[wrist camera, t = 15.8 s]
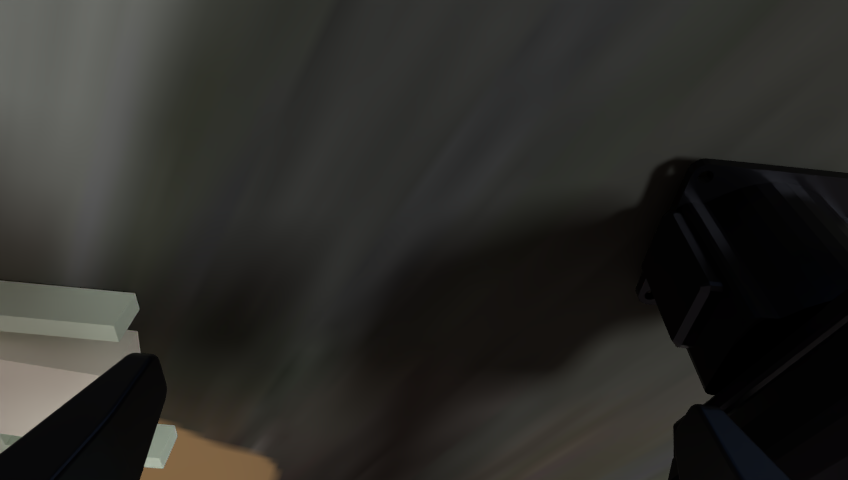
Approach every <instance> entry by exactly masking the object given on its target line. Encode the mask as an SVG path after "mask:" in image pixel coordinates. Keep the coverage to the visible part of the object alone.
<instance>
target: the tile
mask: <svg viewBox="0 0 848 480" xmlns="http://www.w3.org/2000/svg"><path fill="white" fill-rule="evenodd" d="M131 353H141V352H140V345H139V337H138V331H132V330H127V331H126V332H125V334H124V335H123V337H122V339H121V340H120V342H113V341H102V340H91V339H80V338H69V337H59V336H48V335H37V334H26V333H15V332H4V331H0V433H1V434H7V435H14V436H21V437H22V436H24V435H25V434H26V433H27V432H29V431H30V430H31V429H33V428H34V427H35V426H36V425H38V424H39V423H40V422H42V421H43V420H44V419H45V418H47V417H48V416H49V415H51V414H52V413H53V412H54V411H56V410H57V409H58V408H60V407H61V406H62V405H63V404H65V403H66V402H67V401H69V400H70V399H71V398H72V397H74V396H75V395H76V394H78V393H79V392H80V391H81V390H83V389H84V388H85V387H87V386H88V385H89V384H90V383H92V382H93V381H94V380H96V379H97V378H98V377H99V376H101V375H102V374H103V373H105V372H106V371H107V370H108V369H110V368H111V367H112V366H114V365H115V364H116V363H117V362H119V361H120V360H121V359H123V358H124V357H125V356H127V355H129V354H131Z"/></svg>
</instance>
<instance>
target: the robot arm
mask: <svg viewBox="0 0 848 480" xmlns="http://www.w3.org/2000/svg"><path fill="white" fill-rule="evenodd" d="M704 171H709V173H708V174H707V175H706V176H704V177H700V178H698V176H699V175H700V174H701V173H702V172H704ZM642 270H643V273H642V275H641V277H640V280H639V282H638V284H637V287H636V293H637V296H638V298H639V301H641V302H642V303H645V304H651V305H657V306H658V309H659V311H660V313H661V316H662V318H663V321H664V323H665V326H666V328H667V330H668V333H669V335H670V338H671V340H672V341H673V343H674V344H675V345H676V346H677V347H682V348H686V349H687V351H688V353H689V356H690V358H691V360H692V362H693V365H694V367H695V369H696V372H697V374H698V376H699V379H700V381H701V383H702V386H703V388H704V390H705V392H706V393H707V394H710V395H715V396H713V397H712V398H711V399H710V400H708V401H707V402H706V403H705V404H703V405H701V404H695V405H693V406H691V407H690V408H689V410H688V412H687V413H686V415H685V416H683V417H682V418H681V419H680V420H678V421H677V422H676V423H675V424H674V426H673V428H674V458H673V460H672V464H671V469H670V473H669V478H668V480H848V173H842V172H832V171H823V170H813V169H803V168H794V167H784V166H774V165H765V164H755V163H745V162H736V161H726V160H716V159H700V160H698V161H695V162H694V163H693V164H691V165H690V167H689V168H688V170H687V172H686V174H685V176H684V179H683V181H682V183H681V186H680V188H679V190H678V193H677V195H676V197H675V199H674V202H673V204H672V206H671V209H670V211H669V212H667V213H666V214H665V215H664V216H663V217H662V219H661V222H660V224H659V226H658V229H657V231H656V233H655V236H654V238H653V240H652V243H651V245H650V247H649V250H648V252H647V254H646V257H645V259H644V261H643V263H642ZM648 291H651V292H650V293H646V292H648ZM166 393H167V386H166V382H165V378H164V375H163V371H162V368H161V364H160V361H159V359H158V357H157V356H156V355H154V354H145V353H131V354H129V355H127V356H125V357H124V358H123V359H121V360H120V361H119V362H117V363H116V364H115V365H114V366H112V367H111V368H110V369H108V370H107V371H106V372H105V373H103V374H102V375H101V376H99V377H98V378H97V379H96V380H94V381H93V382H92V383H90V384H89V385H88V386H87V387H85V388H84V389H83V390H81V391H80V392H79V393H78V394H76V395H75V396H74V397H72V398H71V399H70V400H69V401H67V402H66V403H65V404H63V405H62V406H61V407H60V408H58V409H57V410H56V411H54V412H53V413H52V414H51V415H49V416H48V417H47V418H45V419H44V420H43V421H42V422H40V423H39V424H38V425H36V426H35V427H34V428H33V429H31V430H30V431H29V432H27V433H26V434H25V435H24V436H22V437H21V438H20V439H18V440H17V441H16V442H14V443H13V444H12V445H11V446H9V447H8V448H7V449H5V450H4V451H3V452H2V453H0V480H140V477H141V474H142V471H143V468H144V465H145V462H146V459H147V455H148V452H149V449H150V446H151V443H152V440H153V437H154V433H155V430H156V427H157V424H158V421H159V418H160V415H161V411H162V408H163V405H164V402H165V398H166Z"/></svg>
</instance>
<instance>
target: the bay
mask: <svg viewBox="0 0 848 480" xmlns="http://www.w3.org/2000/svg"><path fill="white" fill-rule="evenodd" d="M139 310H140V308H139V305H138V301H137V298H136V295H135V293H128V292H117V291H107V290H96V289H86V288H75V287H65V286H54V285H43V284H33V283H22V282H12V281H1V280H0V331H4V332H15V333H26V334H37V335H48V336H59V337H69V338H80V339H91V340H102V341H113V342H120V340H121V339H122V337H123V335H124V334H125V332H126V331H127V329H128V327H129V326H130V324H131V323H132V321H133V319H134V318H135V316H136V315H137V313H138V311H139ZM177 436H178V435H177V432H176V428H175V425H166V424H157V427H156V430H155V433H154V437H153V440H152V443H151V446H150V449H149V452H148V455H147V459H146V462H145V465H144V467H151V468H162V469H163V468H164V466H165V464H166V461H167V459H168V457H169V454H170V452H171V450H172V447H173V445H174V443H175V441H176V438H177ZM20 438H21V436H14V435H7V434H1V433H0V453H2V452H3V451H4V450H5V449H7V448H8V447H9V446H11V445H12V444H13V443H14V442H16V441H17V440H18V439H20Z"/></svg>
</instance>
